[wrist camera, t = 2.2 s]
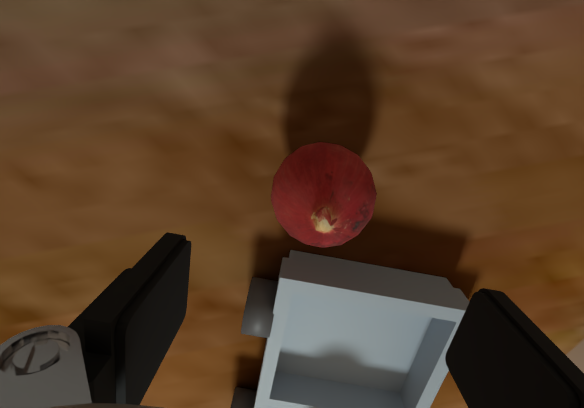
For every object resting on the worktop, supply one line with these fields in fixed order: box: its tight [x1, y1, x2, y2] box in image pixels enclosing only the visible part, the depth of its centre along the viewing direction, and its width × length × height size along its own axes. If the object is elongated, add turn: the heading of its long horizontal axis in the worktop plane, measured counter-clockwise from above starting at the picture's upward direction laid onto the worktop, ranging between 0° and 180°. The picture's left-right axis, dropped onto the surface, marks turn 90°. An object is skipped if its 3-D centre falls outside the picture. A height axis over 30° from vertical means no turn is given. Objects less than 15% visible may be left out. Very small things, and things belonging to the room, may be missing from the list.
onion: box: [271, 142, 377, 248], centre depth 17 cm, size 6×6×8 cm
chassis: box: [231, 250, 469, 408], centre depth 25 cm, size 20×17×4 cm
